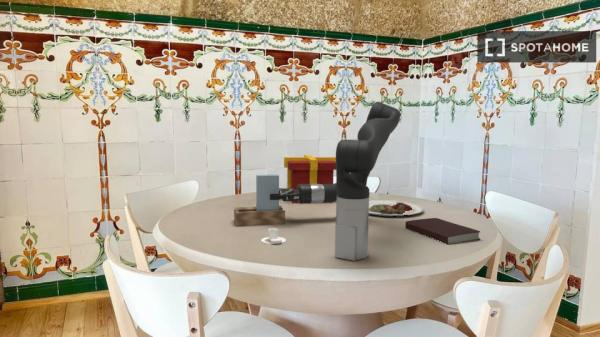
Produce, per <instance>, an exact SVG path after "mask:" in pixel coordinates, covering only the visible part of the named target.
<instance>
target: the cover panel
mask: <svg viewBox="0 0 600 337" xmlns="http://www.w3.org/2000/svg"><path fill="white" fill-rule="evenodd" d="M255 177H256V179H255V180H256V181H255V182H256V183H255V184H256V186H255V189H256V190H255V191H256V192H255V193H256V194H255V196H256V197H255V198H256V199H255V200H256V202H255V204H256V206H255V207H256V211H277V210H279V206H280V200H270V194H279V188H280V175H279V174H256V175H255Z"/></svg>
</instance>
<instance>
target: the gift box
mask: <svg viewBox="0 0 600 337" xmlns="http://www.w3.org/2000/svg"><path fill="white" fill-rule="evenodd" d="M283 167H284V168H286V169H287V170H286V171H287V172H286V175H287V177H286V179H287V181H286V184H287V185H286V188H293V190H297V186H298V185H299V184H334V173H335V172H334V171H336V156H313V155H311V154H304V155H303V156H284V157H283ZM291 203H292V204H299V203H298V201H291ZM333 203H334V202H325V203H324V204H333ZM317 204H318V203H315V204H314V205H317Z"/></svg>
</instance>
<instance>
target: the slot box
mask: <svg viewBox="0 0 600 337" xmlns="http://www.w3.org/2000/svg"><path fill="white" fill-rule="evenodd" d="M283 208H284V207H282V205H279V210H277V211H256V206H243V207H242V206H239V207H238V206H237V207H234V208H233V221H234V225H235V227H249V226H250V227H251V226H252V227H253V226H255V227H256V226H271V225H272V226H273V225H274V226H275V225H286V210H284V209H283Z"/></svg>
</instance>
